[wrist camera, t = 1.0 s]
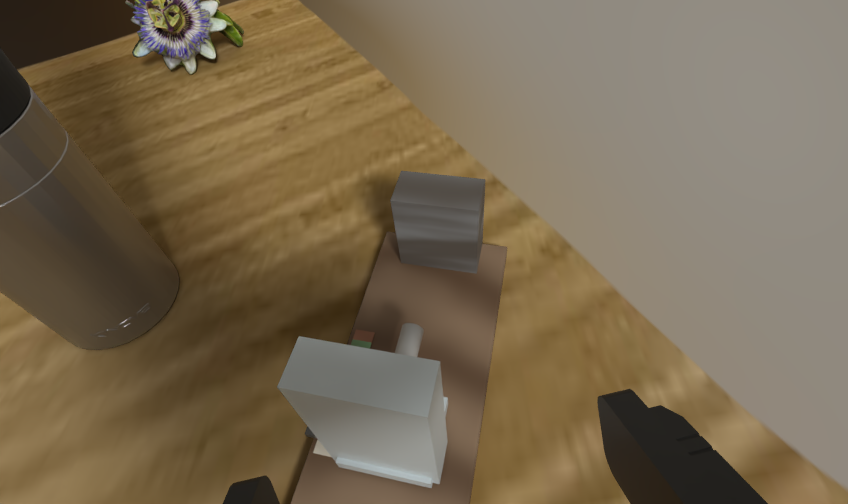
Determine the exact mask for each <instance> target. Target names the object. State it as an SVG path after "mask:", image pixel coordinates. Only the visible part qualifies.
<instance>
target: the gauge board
mask: <svg viewBox="0 0 848 504" xmlns="http://www.w3.org/2000/svg"><path fill="white" fill-rule="evenodd" d="M484 196H485V179H476V178H466V177H457V176H447V175H437V174H427V173H418V172H408V171H401V173H400V176H399V179H398V181H397V184H396V187H395V189H394V192H393V195H392V198H391V200H390V201H391V207H392V213H393V219H394V224H395V230H396V233H394V232H387V233H386V236H385V239H384V242H383V244H382V247H381V250H380V253H379V256H378V259H377V261H376V264H375V267H374V270H373V273H372V275H371V278H370V281H369V284H368V287H367V290H366V292H365V295H364V298H363V301H362V304H361V306H360V309H359V312H358V315H357V318H356V321H355V323H354V326H353V329H352V332H351V335H350V337H349V340H348V343H347V345H351V346H357V347H363V348H368V349H374V350H380V351H385V352H391V353H395V350H396V346H397V343H398V339H399V336H400V332H401V329H402V325H403V324H405V323H413V324H416V325H419V326H420V327H422V328H423V330H424V332H423V336H422V340H421V344H420V348H419V352H418V356H417V357H419V358H425V359H430V360H436V361H440V366H441V377H442V388H443V397H447V398H448V407H447V412H446V417H445V420H446V431H447V441H448V442H447V447H446V453H445V458H444V463H443V469H442V474H441V479H440V484H436V483H433V484H432V488H428V487H423V486H419V485H415V484H410V483H406V482H402V481H397V480H393V479H389V478H384V477H380V476H376V475H371V474H367V473H363V472H358V471H354V470H350V469H345V468H341V467H339V466H338V465H337V464H336V463H335V462H336V461H335V460H334V459H333V458H332V457H331V455H330V454H329V453H328V452H327V450H326V449H325V448H324V446H323V445H322V444H321V443H320V441H319V440H318V439H317V438H314V439H313V442H312V445H311V447H310V450H309V453H308V456H307V459H306V462H305V464H304V467H303V470H302V473H301V476H300V478H299V481H298V484H297V487H296V490H295V493H294V495H293V498H292V501H291V504H470V498H471V491H472V485H473V478H474V471H475V464H476V458H477V451H478V444H479V437H480V431H481V424H482V417H483V410H484V403H485V397H486V390H487V383H488V376H489V370H490V363H491V356H492V349H493V343H494V336H495V329H496V322H497V316H498V309H499V302H500V295H501V289H502V282H503V275H504V268H505V262H506V254H507V247H504V246H496V245H488V244H482V240H483V218H484Z"/></svg>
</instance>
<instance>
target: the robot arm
mask: <svg viewBox="0 0 848 504" xmlns="http://www.w3.org/2000/svg"><path fill="white" fill-rule="evenodd" d="M178 288H179V276H178V272H177V270H176V268H175V266H174V265H173V263H172V262H171V261H170V260H169V258H168V257H167V256H166V255H165V253H164V252H163V251H162V250H161V248H160V247H159V246H158V245H157V244H156V242H155V241H154V240H153V239H152V237H151V236H150V234H149V233H148V232H147V231H146V230H145V228H144V227H143V226H142V225H141V223H140V222H139V221H138V220H137V218H136V217H135V216H134V215H133V213H132V212H131V211H130V210H129V208H128V207H127V206H126V205H125V203H124V202H123V201H122V200H121V199H120V197H119V196H118V195H117V194H116V192H115V191H114V190H113V189H112V187H111V186H110V185H109V184H108V182H107V181H106V180H105V179H104V177H103V176H102V175H101V174H100V173H99V171H98V170H97V169H96V168H95V166H94V165H93V164H92V163H91V161H90V160H89V159H88V158H87V156H86V155H85V154H84V153H83V151H82V150H81V149H80V148H79V146H78V145H77V144H76V143H75V142H74V140H73V139H72V138H71V137H70V135H69V134H68V133H67V132H66V130H65V129H64V128H63V127H62V126H61V125H60V123H59V122H58V121H57V120H56V118H55V117H54V116H53V115H52V113H51V112H50V111H49V110H48V108H47V107H46V106H45V105H44V103H43V102H42V101H41V100H40V98H39V97H38V96H37V95H36V94H35V92H34V91H33V90H32V89H31V87H30V86H29V85H28V83H27V82H26V80H25V79H24V78H23V77H22V76H21V74H20V73H19V72H18V71H17V69H16V68H15V67H14V66H13V65H12V63H11V62H10V60H9V59H8V58H7V56H6V55H5V54H4V52H3V51H2V49H1V48H0V292H1V293H3V294H4V295H5V296H7V297H8V298H9V299H11V300H12V301H14V302H15V303H16V304H18V305H19V306H21V307H22V308H23V309H25V310H26V311H27V312H29V313H30V314H32V315H33V316H34V317H35V318H37V319H38V320H40V321H41V322H42V323H44V324H45V325H47V326H48V327H49V328H51V329H52V330H54V331H55V332H56V333H58V334H59V335H61V336H62V337H63V338H65V339H66V340H68V341H69V342H71V343H72V344H74V345H75V346H77V347H80V348H84V349H91V350H101V349H108V348H113V347H116V346H119V345H122V344H125V343H127V342H129V341H131V340H133V339H135V338H137V337H139V336H141V335H142V334H144V333H145V332H147V331H148V330H150V329H151V328H152V327H153V326H154V325H155V324H156V323H157V322H159V321H160V320H161V319H162V317H163V316H164V315H165V314H166V313H167V311H168V310H169V309H170V307H171V305H172V304H173V302H174V300H175V298H176V295H177V292H178ZM598 410H599V417H600V424H601V431H602V438H603V445H604V451H605V455H606V459H607V462H608V464H609V467H610V469H611V472H612V474H613V476H614V477H615V479H616V481H617V482H618V484H619V486H620V487H621V489H622V490H623V492H624V494H625V495H626V497H627V499H628V500H629V502H630V503H631V504H768V503H767V502H766V501H765V500H764V499H763V498H762V497H761V496H760V495H759V494H758V493H757V492H756V491H755V490H754V489H753V488H752V487H751V486H750V485H749V484H748V483H747V482H746V481H745V480H744V479H743V478H742V477H741V476H740V475H739V474H738V473H737V472H736V471H735V470H734V469H733V468H732V467H731V466H730V465H729V464H728V462H727V461H726V460H725V459H724V458H723V457H722V456H721V455H720V454H719V453H718V452H717V451H716V450H713V449H712V446H711V445H710V444H709V443H708V442H707V441H706V440H705V439H704V438H703V437H702V436H701V437H700V435H699V433H698V432H697V431H696V430H695V429H694V428H693V427H692V426H691V425H690V424H689V423H688V422H687V421H686V420H685V419H684V418H683V417H682V416H680V415H678V414H676V413H674V412H673V411H671V410H669V409H667V408H665V407H663V406H661V405H660V406H656V407H652V408H648V407H647V406H646V405H645V404H644V403H643V401H642V400H641V399H640V398H639V397H638V396H637V395H636V394H635V392H634V391H632V390H631V389H627V390H623V391H619V392H614V393H610V394H606V395H602V396H599V397H598ZM223 504H280V503H279V501H278V498H277V496H276V493H275V491H274V488H273V486H272V483H271V481H270V479H269V478H268V477H267V476H261V477H257V478H253V479H249V480H245V481H240V482H236V483H233V484H232V485H231V487H230V488H229V491H228V493H227V495H226V497H225V500H224V502H223Z"/></svg>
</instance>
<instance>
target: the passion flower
mask: <svg viewBox="0 0 848 504" xmlns="http://www.w3.org/2000/svg"><path fill="white" fill-rule="evenodd" d="M134 1H135V5H133V4H132V3H130V2H129V1H126V4H127V5H129V6H130V7H132V8H133V9H134V10H135V11H136V12H133V13H135V14H136V15H135V16H134V17H132V18H131V21H132V22H133V23H134V24H137V25H139V26H141V28H140V30H139V31H138V32H137V33H138V35H139V38H140V40H139V41H138V43H137V44H136V45H135V47H134V49H133V52H132V53H133V56H134V57H143V56H146V55H147V54H149V53H150V52H151V51H155V52H157V53H158V54H160V55H162V56H163V58H164V61H165V63H166V65H167V67H168V68H169V69H170V70H171V71H172V70H173V69H175V68H176V67H177V66H178V65H182V66H184V67H185V69H186V71H187V72H188V73H189V74H190V75H192V74H194V73H195V72H196V67H197V64H196V55H197V54H201V55H203V56H204V57H206V58H208V59H215V58H216V50H215V47H214V45H213V44H212V41H211V33H213V32H218V31H219V32H221V33H222V34H224V35H225V36H226V37H227V38H229V39H230V40H231V41H232V42H233V43H235V44H236V45H237V46H240V47H242V46H243V40H242V36H241V35H240V34H239V32H240V33H241V34H243V33H244V31H243V29H242V28H241V27H240V26H239V25H238V24H236V23H235V22H234V21H233V20H232V19H231V18H230V17H229V16H227V15H226V14H224V13H222V12H220V11H219V10H218V9H217V8H218V6H219V4H220V2H219V1H218V0H210V1H200V0H134ZM238 30H239V32H238Z"/></svg>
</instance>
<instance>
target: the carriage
mask: <svg viewBox="0 0 848 504" xmlns="http://www.w3.org/2000/svg"><path fill="white" fill-rule="evenodd" d="M423 332H424V330H423V328H422V327H420V326H419V325H416V324H413V323H405V324H403V325H402V329H401V332H400V336H399V339H398V343H397V346H396V350H395V353H391V352H385V351H380V350H374V349H368V348H363V347H357V346H351V345H346V344H340V343H335V342H329V341H323V340H318V339H312V338H306V337H301V336H299V337H298V339H297V342H296V344H295V346H294V349H293V351H292V353H291V356H290V358H289V360H288V363H287V365H286V368H285V370H284V372H283V375H282V377H281V379H280V382H279V384H278V386H277V388H278V389H279V390H280V391H281V393H282V394H283V395H284V397H285V398H286V399H287V400H288V402H289V403H290V404H291V406H292V407H293V408H294V409H295V411H296V412H297V413H298V414H299V416H300V417H301V418H302V420H303V421H304V422H305V423H306V425H307V429H306V432H305V435H306V436H307V437H312V438H317V439H318V440H319V441H320V443H321V444H322V445H323V446H324V448H325V449H326V450H327V452H328V453H329V454H330V455H331V457H332V458H333V459H334V460H335V461H336V462H335V463H336V464H337V465H338V466H339V467H341V468H345V469H350V470H354V471H358V472H363V473H367V474H371V475H376V476H380V477H384V478H389V479H393V480H397V481H402V482H406V483H410V484H415V485H419V486H423V487H428V488H432V484H433V483H436V484H440V479H441V474H442V469H443V463H444V458H445V453H446V447H447V442H448V441H447V431H446V420H445V417H446V412H447V407H448V398H447V397H443V388H442V377H441V366H440V361H436V360H430V359H425V358H419V357H417V356H418V352H419V348H420V344H421V340H422V336H423Z"/></svg>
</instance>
